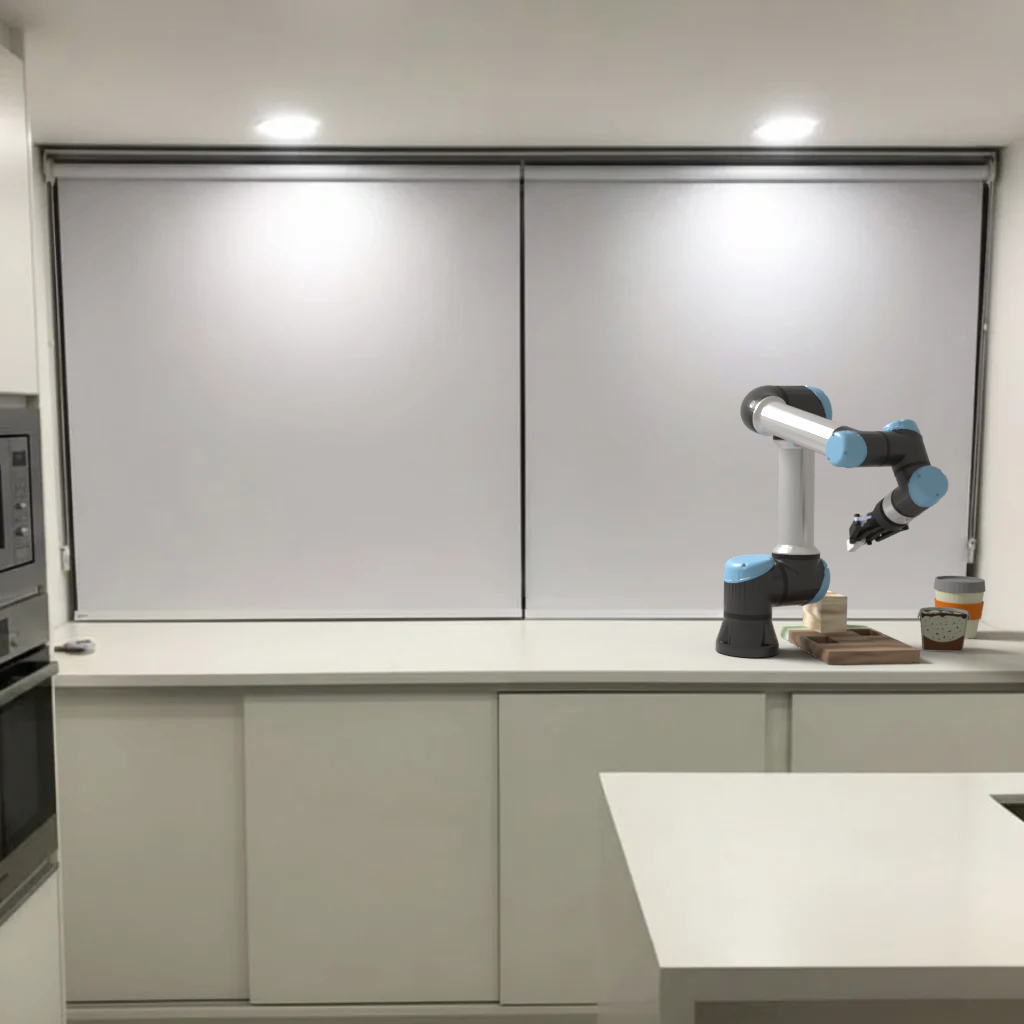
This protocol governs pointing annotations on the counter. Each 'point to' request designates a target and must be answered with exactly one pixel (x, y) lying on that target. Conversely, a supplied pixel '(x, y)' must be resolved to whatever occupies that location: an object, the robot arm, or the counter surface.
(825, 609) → the block
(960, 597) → the reusable coffee cup
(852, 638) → the board
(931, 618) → the food container
